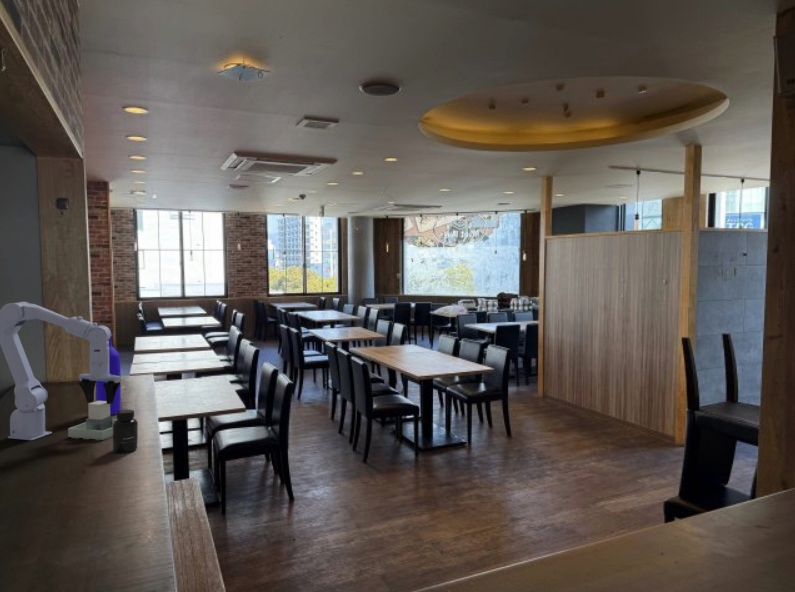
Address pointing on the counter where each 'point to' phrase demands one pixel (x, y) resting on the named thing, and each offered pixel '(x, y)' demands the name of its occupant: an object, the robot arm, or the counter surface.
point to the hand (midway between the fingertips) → (100, 402)
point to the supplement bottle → (125, 432)
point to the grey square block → (99, 424)
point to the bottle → (100, 390)
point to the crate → (90, 432)
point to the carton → (99, 410)
